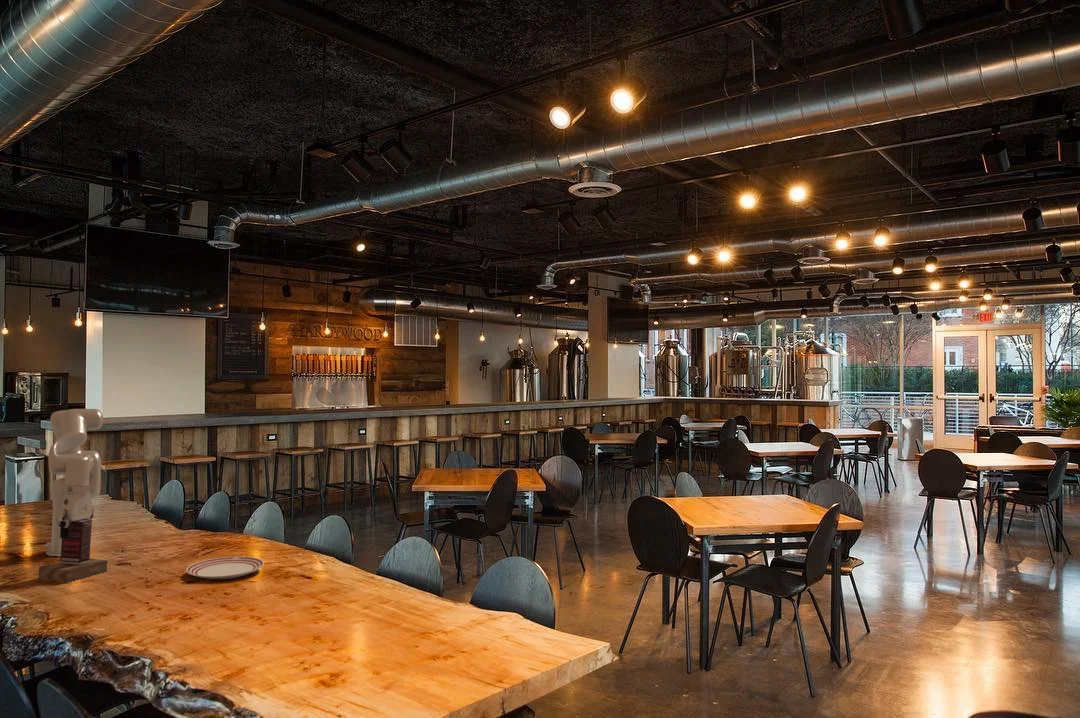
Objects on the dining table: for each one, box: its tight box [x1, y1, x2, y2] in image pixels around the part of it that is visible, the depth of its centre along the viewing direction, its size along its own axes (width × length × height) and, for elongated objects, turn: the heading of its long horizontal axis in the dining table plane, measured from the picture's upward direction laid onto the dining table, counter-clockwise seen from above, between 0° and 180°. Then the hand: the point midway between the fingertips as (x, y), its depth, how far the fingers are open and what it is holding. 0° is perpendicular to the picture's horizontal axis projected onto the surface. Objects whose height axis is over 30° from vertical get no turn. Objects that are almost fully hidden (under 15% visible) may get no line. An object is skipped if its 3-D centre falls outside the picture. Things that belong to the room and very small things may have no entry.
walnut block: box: [38, 557, 108, 584], centre depth 265 cm, size 14×16×5 cm
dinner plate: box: [185, 555, 265, 580], centre depth 272 cm, size 27×27×3 cm
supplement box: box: [59, 519, 93, 565], centre depth 266 cm, size 9×5×16 cm, turn 81°
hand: (75, 535), depth 266 cm, fingers open, 9 cm apart
